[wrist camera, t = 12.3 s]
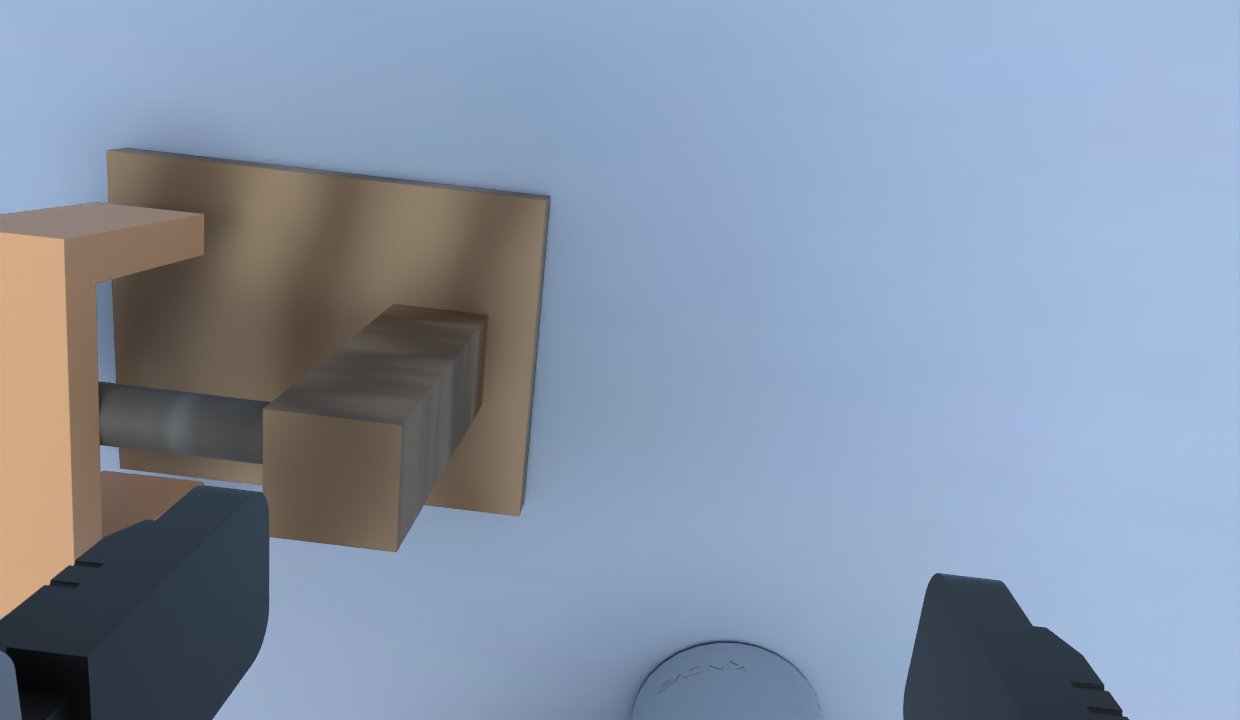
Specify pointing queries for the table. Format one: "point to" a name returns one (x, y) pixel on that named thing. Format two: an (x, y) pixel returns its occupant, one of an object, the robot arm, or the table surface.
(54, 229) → the wooden staple shape
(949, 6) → the table surface
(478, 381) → the hook stand
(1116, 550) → the table surface
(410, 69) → the table surface
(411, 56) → the table surface
